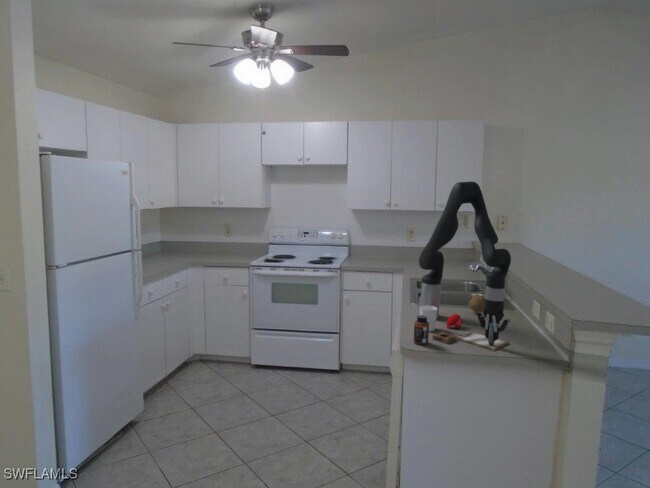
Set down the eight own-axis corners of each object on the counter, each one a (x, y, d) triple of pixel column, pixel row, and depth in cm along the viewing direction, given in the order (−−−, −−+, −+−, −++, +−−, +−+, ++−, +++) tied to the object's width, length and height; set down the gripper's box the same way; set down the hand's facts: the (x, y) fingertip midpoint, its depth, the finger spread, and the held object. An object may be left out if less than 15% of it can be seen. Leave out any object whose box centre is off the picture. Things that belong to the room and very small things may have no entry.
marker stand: (432, 339, 188) (432, 335, 187) (441, 335, 192) (442, 331, 192) (446, 343, 182) (446, 339, 182) (456, 340, 187) (456, 336, 187)
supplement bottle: (428, 345, 180) (429, 319, 178) (413, 344, 181) (414, 318, 179) (427, 340, 185) (429, 314, 184) (413, 339, 186) (414, 313, 185)
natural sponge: (464, 314, 226) (466, 295, 224) (473, 310, 232) (474, 292, 230) (481, 318, 219) (483, 298, 218) (489, 314, 225) (491, 295, 224)
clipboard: (454, 338, 189) (454, 336, 189) (470, 332, 197) (470, 330, 197) (493, 351, 175) (494, 348, 175) (509, 343, 184) (509, 341, 184)
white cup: (427, 333, 195) (428, 311, 194) (414, 328, 202) (415, 306, 201) (439, 330, 200) (441, 308, 198) (427, 325, 206) (428, 304, 205)
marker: (486, 344, 180) (487, 323, 179) (489, 342, 182) (491, 321, 180) (492, 346, 178) (493, 324, 177) (495, 344, 179) (497, 323, 178)
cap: (455, 317, 209) (446, 311, 207) (465, 316, 204) (455, 310, 202) (451, 332, 206) (442, 327, 204) (460, 332, 201) (451, 326, 199)
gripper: (473, 295, 180) (471, 336, 182) (506, 303, 169) (503, 346, 172) (483, 293, 185) (480, 332, 187) (515, 300, 174) (512, 341, 177)
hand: (491, 339), depth 179 cm, fingers closed on marker, 2 cm apart
